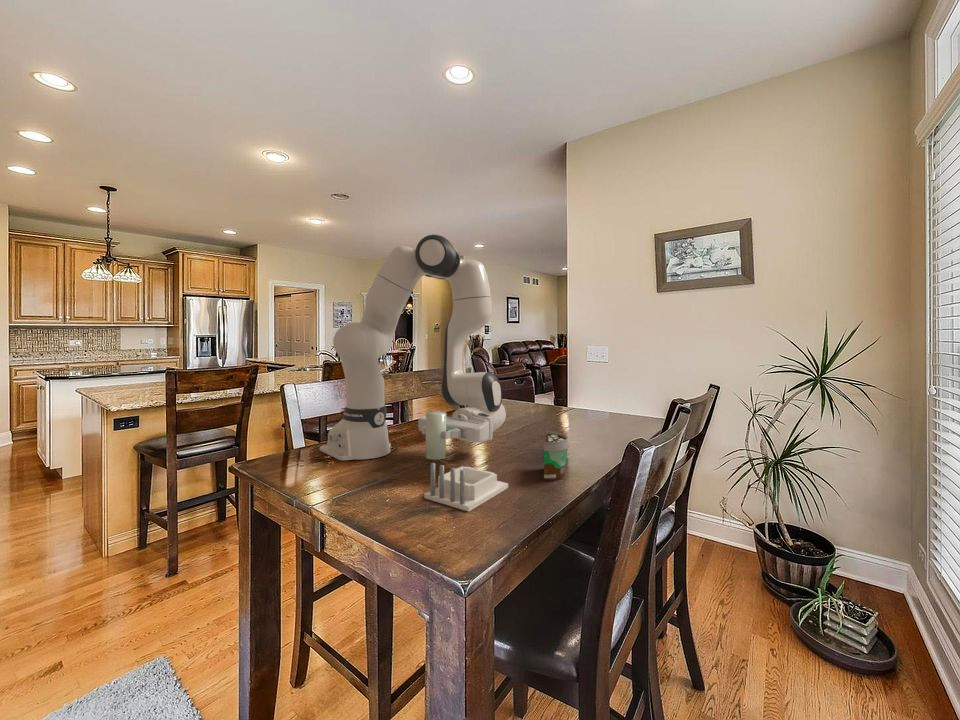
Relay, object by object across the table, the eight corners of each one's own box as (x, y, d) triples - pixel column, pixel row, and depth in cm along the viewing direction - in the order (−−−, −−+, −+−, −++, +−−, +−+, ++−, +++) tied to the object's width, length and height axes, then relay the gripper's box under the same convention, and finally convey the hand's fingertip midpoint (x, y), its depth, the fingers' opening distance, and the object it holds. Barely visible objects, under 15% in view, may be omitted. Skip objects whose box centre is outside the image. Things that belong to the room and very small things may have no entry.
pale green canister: (421, 457, 103) (421, 413, 103) (434, 452, 108) (435, 410, 107) (436, 460, 101) (437, 416, 100) (449, 455, 105) (450, 412, 104)
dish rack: (424, 498, 91) (424, 462, 91) (467, 477, 105) (467, 446, 104) (468, 511, 85) (469, 473, 84) (508, 487, 98) (508, 454, 97)
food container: (569, 485, 100) (570, 444, 99) (543, 483, 101) (544, 442, 101) (568, 468, 112) (569, 432, 111) (545, 466, 113) (546, 430, 113)
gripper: (437, 407, 120) (403, 415, 108) (497, 417, 108) (466, 426, 97) (437, 429, 120) (403, 439, 109) (497, 441, 109) (466, 453, 97)
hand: (433, 433), depth 103 cm, fingers closed on pale green canister, 5 cm apart
